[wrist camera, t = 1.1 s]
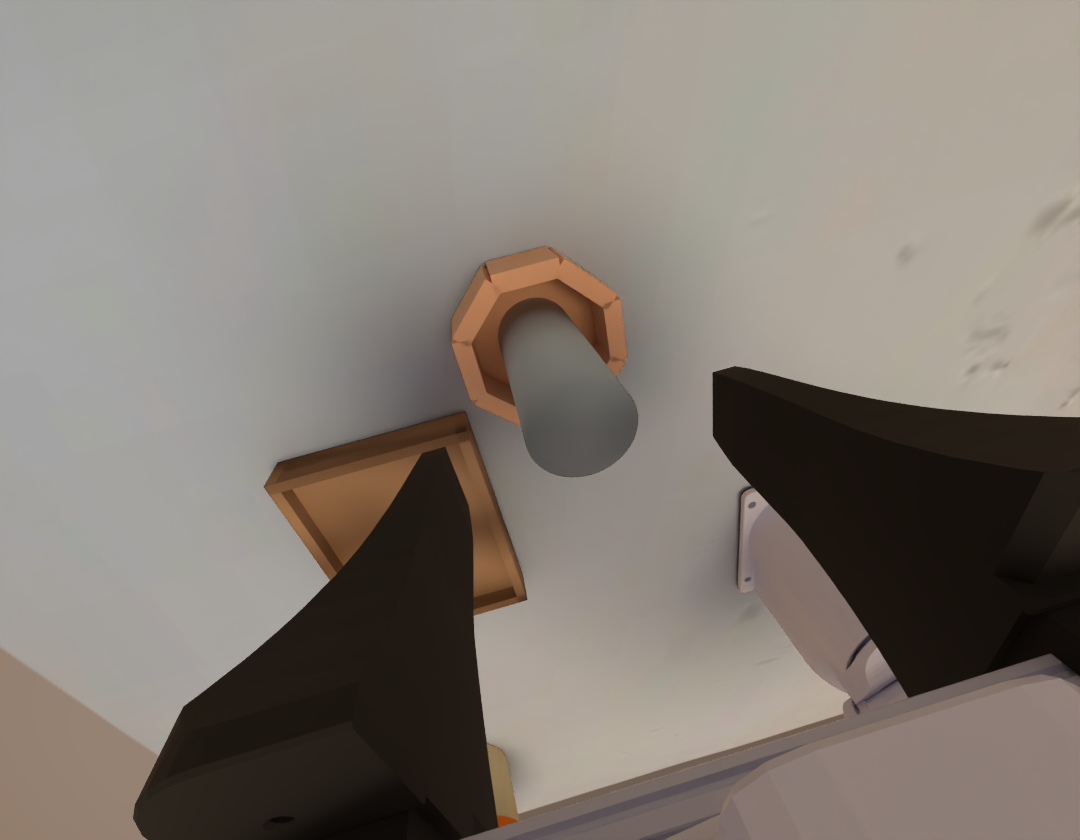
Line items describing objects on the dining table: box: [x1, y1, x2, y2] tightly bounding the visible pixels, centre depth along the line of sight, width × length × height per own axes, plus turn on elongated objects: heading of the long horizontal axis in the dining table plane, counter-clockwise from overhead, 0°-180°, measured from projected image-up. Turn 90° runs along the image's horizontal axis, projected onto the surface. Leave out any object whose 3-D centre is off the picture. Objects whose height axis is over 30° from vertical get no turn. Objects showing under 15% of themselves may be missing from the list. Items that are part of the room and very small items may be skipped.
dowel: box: [498, 297, 638, 477], centre depth 16 cm, size 3×3×8 cm
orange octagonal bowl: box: [452, 246, 627, 426], centre depth 18 cm, size 7×7×3 cm
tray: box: [264, 412, 527, 616], centre depth 23 cm, size 12×9×2 cm
